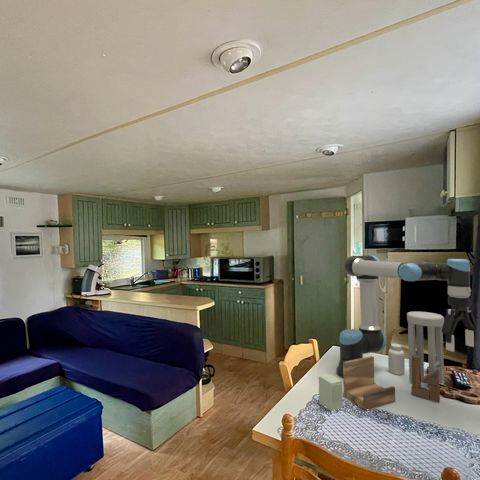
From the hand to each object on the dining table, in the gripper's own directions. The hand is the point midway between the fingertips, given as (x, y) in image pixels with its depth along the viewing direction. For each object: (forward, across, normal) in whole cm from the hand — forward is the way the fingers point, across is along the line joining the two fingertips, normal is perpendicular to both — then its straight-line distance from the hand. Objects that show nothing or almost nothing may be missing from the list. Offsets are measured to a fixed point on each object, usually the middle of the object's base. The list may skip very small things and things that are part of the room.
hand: (460, 348), depth 118 cm
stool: (+28, +15, +24) cm, 39 cm away
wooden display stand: (+28, -23, +25) cm, 44 cm away
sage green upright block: (+28, -43, +28) cm, 59 cm away
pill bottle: (+28, +14, +40) cm, 50 cm away
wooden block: (+28, +2, +16) cm, 32 cm away
